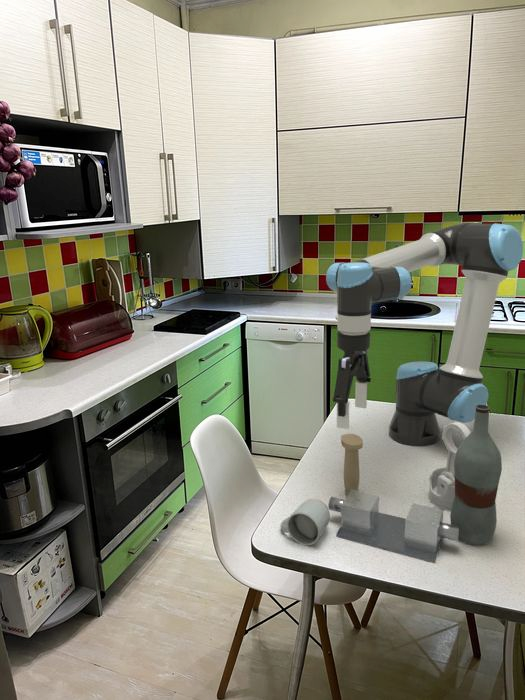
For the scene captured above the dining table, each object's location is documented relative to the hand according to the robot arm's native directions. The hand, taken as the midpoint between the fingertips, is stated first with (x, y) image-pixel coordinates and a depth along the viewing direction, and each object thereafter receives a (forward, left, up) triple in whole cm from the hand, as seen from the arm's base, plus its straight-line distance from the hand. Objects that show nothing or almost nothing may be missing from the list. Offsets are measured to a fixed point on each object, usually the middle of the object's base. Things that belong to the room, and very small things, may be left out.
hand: (352, 417), depth 127 cm
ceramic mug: (+20, -4, -21) cm, 29 cm away
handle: (0, 0, -21) cm, 21 cm away
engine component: (-7, +23, -21) cm, 32 cm away
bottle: (+5, +29, -21) cm, 36 cm away
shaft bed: (+12, +13, -21) cm, 27 cm away
